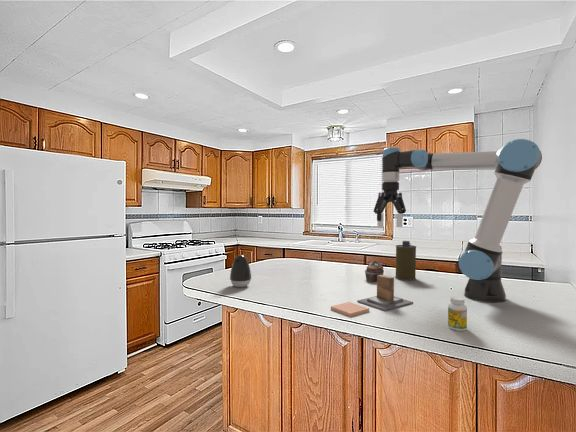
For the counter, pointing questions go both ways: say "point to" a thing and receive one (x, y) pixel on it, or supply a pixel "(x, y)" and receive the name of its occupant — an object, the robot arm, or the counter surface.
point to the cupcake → (373, 271)
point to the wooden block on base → (385, 291)
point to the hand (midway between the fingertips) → (390, 227)
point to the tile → (349, 309)
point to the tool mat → (387, 307)
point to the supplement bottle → (457, 314)
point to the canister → (405, 261)
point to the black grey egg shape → (240, 272)
